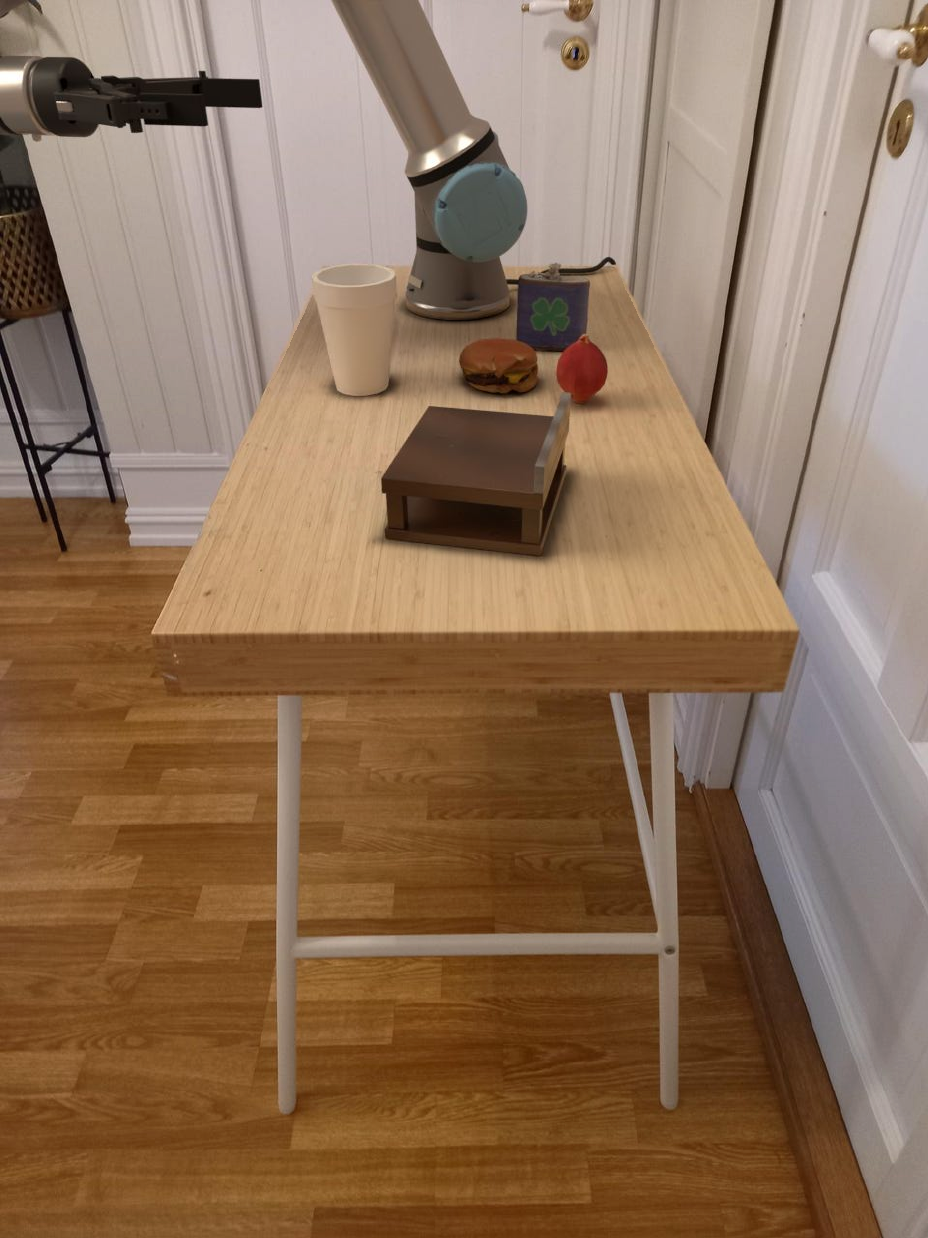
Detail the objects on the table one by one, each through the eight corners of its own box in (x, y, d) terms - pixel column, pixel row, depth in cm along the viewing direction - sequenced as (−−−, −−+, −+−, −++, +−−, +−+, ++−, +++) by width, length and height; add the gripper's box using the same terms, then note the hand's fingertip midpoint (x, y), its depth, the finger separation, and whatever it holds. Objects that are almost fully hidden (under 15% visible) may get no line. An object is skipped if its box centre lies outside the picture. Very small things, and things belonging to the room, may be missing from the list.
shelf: (430, 460, 96) (427, 381, 91) (566, 473, 93) (571, 392, 88) (384, 538, 83) (378, 450, 78) (540, 556, 80) (544, 466, 75)
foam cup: (388, 403, 108) (382, 289, 100) (312, 398, 109) (300, 284, 102) (409, 373, 115) (404, 265, 108) (337, 369, 117) (327, 261, 109)
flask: (586, 346, 123) (592, 261, 117) (584, 353, 121) (589, 268, 115) (517, 341, 125) (519, 258, 119) (513, 349, 123) (515, 264, 116)
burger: (486, 362, 118) (486, 325, 116) (551, 376, 114) (553, 339, 112) (443, 388, 112) (443, 349, 109) (511, 404, 108) (512, 365, 105)
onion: (548, 394, 110) (551, 327, 105) (595, 390, 111) (600, 323, 106) (563, 414, 105) (567, 344, 100) (611, 409, 106) (617, 340, 101)
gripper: (118, 119, 113) (283, 124, 109) (-12, 155, 93) (184, 162, 89) (103, 46, 108) (275, 49, 104) (-36, 68, 89) (169, 71, 85)
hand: (233, 101), depth 97 cm, fingers open, 13 cm apart
